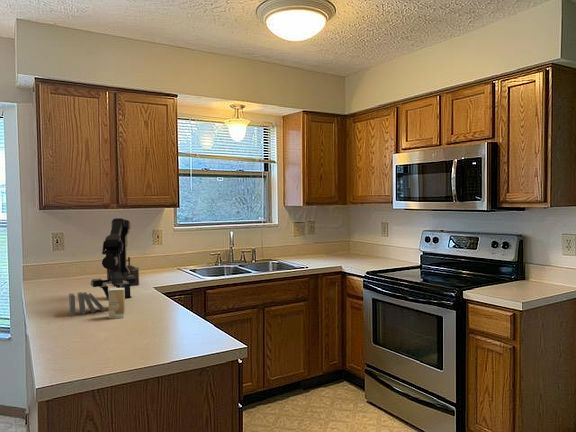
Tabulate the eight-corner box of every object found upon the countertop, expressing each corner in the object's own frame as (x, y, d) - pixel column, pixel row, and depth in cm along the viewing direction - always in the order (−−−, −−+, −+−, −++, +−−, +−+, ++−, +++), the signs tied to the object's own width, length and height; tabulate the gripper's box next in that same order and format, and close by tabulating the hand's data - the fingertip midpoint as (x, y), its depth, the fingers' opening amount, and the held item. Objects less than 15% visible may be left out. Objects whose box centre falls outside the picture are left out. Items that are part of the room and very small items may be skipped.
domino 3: (93, 309, 202) (85, 291, 199) (96, 311, 197) (87, 293, 195) (90, 311, 201) (81, 293, 199) (92, 313, 197) (83, 295, 194)
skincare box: (108, 319, 187) (107, 290, 186) (109, 316, 191) (108, 288, 190) (124, 317, 188) (123, 289, 188) (125, 315, 193) (124, 287, 192)
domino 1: (73, 313, 197) (72, 293, 197) (75, 315, 193) (74, 295, 192) (69, 314, 196) (68, 293, 196) (71, 316, 192) (70, 295, 192)
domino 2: (83, 311, 199) (81, 292, 199) (85, 313, 195) (83, 293, 194) (80, 312, 198) (77, 292, 198) (82, 314, 194) (79, 294, 194)
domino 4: (103, 307, 204) (90, 293, 201) (105, 309, 200) (92, 294, 196) (100, 309, 203) (87, 295, 200) (102, 311, 199) (89, 297, 196)
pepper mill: (139, 282, 270) (139, 252, 270) (138, 285, 260) (137, 255, 259) (112, 283, 266) (111, 254, 266) (110, 287, 256) (109, 256, 255)
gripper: (95, 270, 192) (96, 305, 192) (139, 265, 202) (140, 299, 203) (90, 266, 201) (91, 301, 201) (132, 263, 211) (133, 295, 212)
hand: (114, 299), depth 204 cm, fingers open, 5 cm apart
